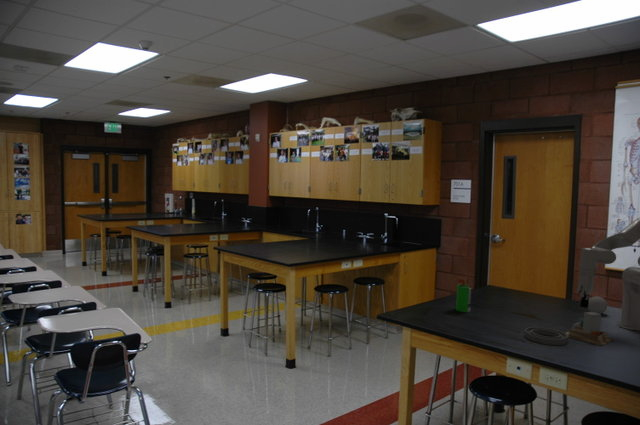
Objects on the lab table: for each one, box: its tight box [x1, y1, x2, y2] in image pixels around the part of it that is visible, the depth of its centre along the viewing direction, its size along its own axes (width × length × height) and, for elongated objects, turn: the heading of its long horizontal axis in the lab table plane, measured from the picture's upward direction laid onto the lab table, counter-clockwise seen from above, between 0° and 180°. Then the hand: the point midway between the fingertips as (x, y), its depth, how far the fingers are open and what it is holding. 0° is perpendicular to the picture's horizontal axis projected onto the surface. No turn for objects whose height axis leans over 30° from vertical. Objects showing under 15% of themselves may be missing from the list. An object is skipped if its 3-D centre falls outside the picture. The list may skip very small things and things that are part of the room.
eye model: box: [587, 295, 608, 315], centre depth 269 cm, size 10×10×10 cm
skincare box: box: [583, 311, 602, 336], centre depth 222 cm, size 6×4×12 cm
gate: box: [571, 317, 584, 330], centre depth 235 cm, size 12×2×4 cm, turn 133°
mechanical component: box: [524, 326, 569, 346], centre depth 221 cm, size 18×18×3 cm
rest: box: [564, 326, 613, 347], centre depth 224 cm, size 14×18×4 cm
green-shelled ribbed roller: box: [455, 278, 472, 313], centre depth 267 cm, size 9×8×18 cm
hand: (584, 307), depth 241 cm, fingers closed
